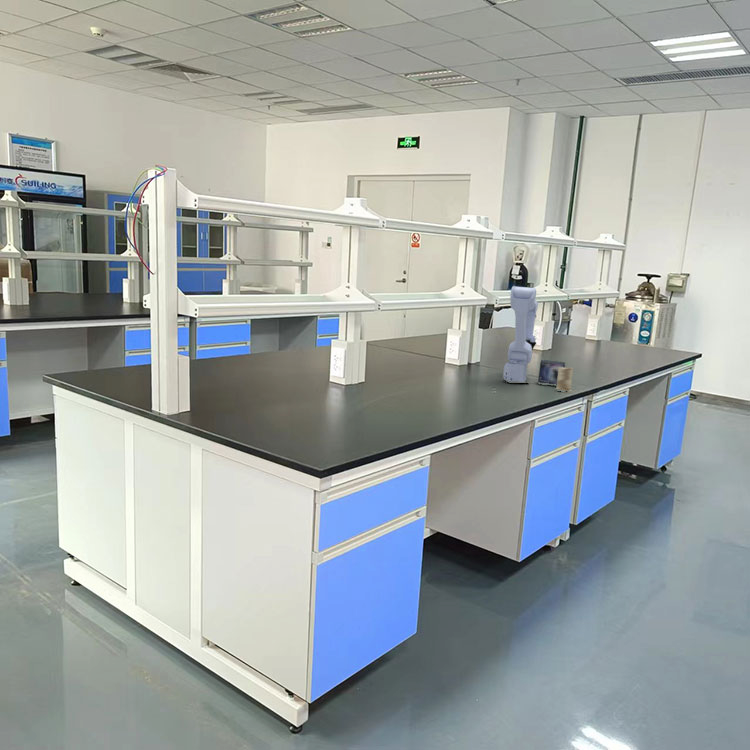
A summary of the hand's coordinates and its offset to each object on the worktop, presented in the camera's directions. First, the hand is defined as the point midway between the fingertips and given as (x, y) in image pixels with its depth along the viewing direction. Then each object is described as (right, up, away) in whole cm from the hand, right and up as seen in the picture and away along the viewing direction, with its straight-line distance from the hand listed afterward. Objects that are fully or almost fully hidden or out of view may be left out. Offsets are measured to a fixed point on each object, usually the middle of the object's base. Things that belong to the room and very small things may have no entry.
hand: (524, 355), depth 300 cm
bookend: (+11, -16, -24) cm, 31 cm away
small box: (+8, -14, -12) cm, 20 cm away
